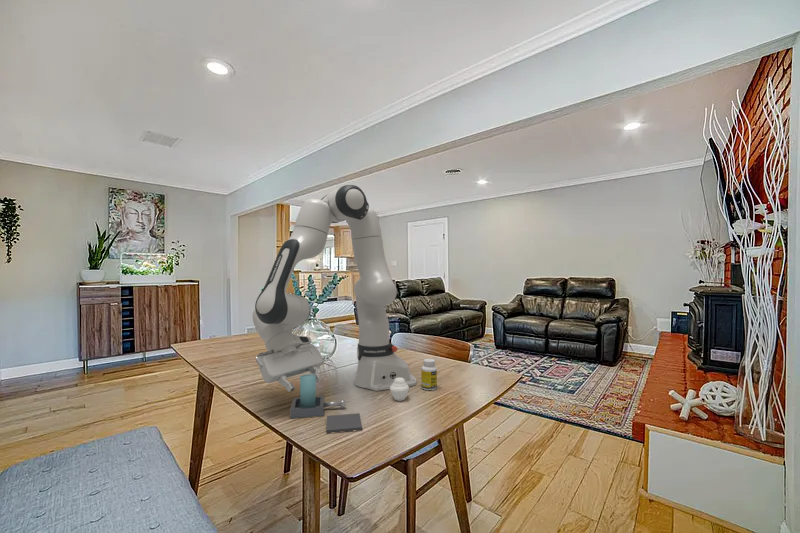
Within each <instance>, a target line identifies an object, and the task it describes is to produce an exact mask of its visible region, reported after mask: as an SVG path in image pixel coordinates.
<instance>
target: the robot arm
mask: <svg viewBox="0 0 800 533" xmlns="http://www.w3.org/2000/svg"><path fill="white" fill-rule="evenodd" d="M367 200H368V199H367V197H366V194H365V192H364V191H363V190H362V188H360V186H357V185H354V184H346V185H345V184H344V185H342V186H340V187H337V188H336V189H333V190H332V191H330V192H329V193H328V194H326V195H324V196H323V197H322V198H321V199H319V198H308V199H306V200H305V201H304V202H303V203H302V205H301V207H300V210H299V211H298V214H297V217H296V220H295V222H294V226H293V229H292V233H291V235H290V236H289V238H288V239H287V240H286V241H284V243H282V245H281V247H280V249H279V251H278V253H277V255H276V258H275V260H274V263H273V265H272V267H271V270H270V272H269V275H268V278H267V280H266V281H265V285H264V287H263V288H262V289H261V292H260V293H259V294H258V296H257V298H256V301H255V304H254V310H253V312H252V323H253V325H254V327H255V330H256V332H257V334H258V336H259V337H260V339H262V341H263V342H264V347H265V348H266V350H267V351H264V352H259V353H258V354H257V355H256V357H255V362H256V364H257V365H258V367H259V371H260V374H261V376H262V380H264V382H265V383H267V384H272V383H275V382H277V383H278V384H279V385H281V386H282V387H284V388H285V389H286V391H287V392H293V391H294V390H295V389H296V387H295V385H294V382H293V381H292V382H290V381H288V380H287V379H288V378H290V377H291V378H292V377H294V376H295V377H296V376H299V375H301V374H304V373H307V372H310V374H312V375H315V376H316V383H319V382H320V380H321V378H320V376H319V375H318V374H319V373H318V372H319V371H318V370H319V368H320V367H321V366H322V365H323V363H324V357H323V356H322V354H321V352H320V350H318V348H317V346H315V344H313V343H312V339H311V337H309V336H304V335H303V336H302V335H299V334H298V335H297V334H294V333H293V330H295V329H296V328H299V326H301V325H302V324H304V323H305V322H307V321H306V320H308V318H309V316H310V314H311V305H310V303H309V300H308V299H307V298H306V297H304V296H301V295H298V294H293V293H289V292H287V288H288V287H289V286H288V285H289V283H290V280H291V277H292V275H293V272H294V269H295V268H296V266H297V265H298V263H299V262H301V261H303V260H309V259H313V258H316V257H317V256H319V255H320V254H322V253H323V251H324V249H325V247H326V245H327V240H328V236H329V231H330V227H331V224H338V223H341V222H346V224H347V226H348V227H349V230H350V238H351V244H352V245H351V246H352V253H353V259H354V263H355V265H356V269H357V271H358V273H359V277H360V278H359V279H358V280H357V281H356V282H355V283H354V287H353V292H354V296H355V304H356V305H355V306H356V314H357V319H358V343H357V349H356V351H357V352H356V354H357V355H356V356H357V370H356V375H355V379H354V385H355V386H357V387H358V388H364V389H368V390H369V389H370V390H372V391H376V392H378V391H384V390H390V386H391V385H392V384H393V383H394V380H395V379H396V378H399V377H400V378H403V379H404V380H405V382H406V384H407V385H408V386H409V387H414V386H416V385H417V378H416V377H415V376H414V375H413V374H412V373H411V370H410V366H409V364H408V363H407V362H406V361H405V360H404V359H402V357H400V356H399V355H398V354H396V353H397V352H398V347H397V346H396V345H394V344H393V343H392V342H390V322H389V318H388V316H387V310H386V307H387V306H389V305H391V304H392V303H393V302H394V301H395V299H396V298H397V292H398V291H397V287H396V284H395V282H394V281H393V279H392V275H391V273H390V270H389V267H388V263H387V260H386V256H385V255H386V254H385V250H384V242H383V241H384V240H383V236H382V234H383V233H382V228H381V224H380V221H379V217H378V214H377V211H375V209H373V208H370V206H369V205H370V204H369V202H368V201H367Z"/></svg>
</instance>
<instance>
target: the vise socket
mask: <svg viewBox="0 0 800 533" xmlns="http://www.w3.org/2000/svg"><path fill="white" fill-rule="evenodd" d="M346 405H347V402H346V400H345V399H340V400H339V401H326V402H325V395H318V396H317V395H316V406H314V407H300V397H293V399H292V401H291V406H290V408H289V419H290V420H291V419H302V418H314V416H318V417H324V412H325V411H324V409H325V408H326V407H327V408H329V407H337V406H338V407H342V408H344V407H345V406H346Z"/></svg>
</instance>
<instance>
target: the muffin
mask: <svg viewBox="0 0 800 533" xmlns="http://www.w3.org/2000/svg"><path fill="white" fill-rule="evenodd" d="M409 390H410V386H408V385H407V384H406V382H405V380H404V379H403V378H400V377H399V378H396V379H395V380H394V383H393V384H392V385H391V386H390V389H389V391H390V393H391V395H392V398H393V400H394V401H396V400H397V401H396V402H403V401H405V399H406V398H407V396H408V393H409ZM402 400H403V401H402Z"/></svg>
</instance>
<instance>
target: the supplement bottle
mask: <svg viewBox="0 0 800 533" xmlns="http://www.w3.org/2000/svg"><path fill="white" fill-rule="evenodd" d="M420 374H421V378H420V380H421V381H420V384H421V385H420V388H421V389H422V390H423V389H424V391H428V390H432V391H435V390H437V388H438V382H437V381H438V368H437V366H436V360H435V359H434V358H424V359H423V365H422V367H421V372H420Z"/></svg>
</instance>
